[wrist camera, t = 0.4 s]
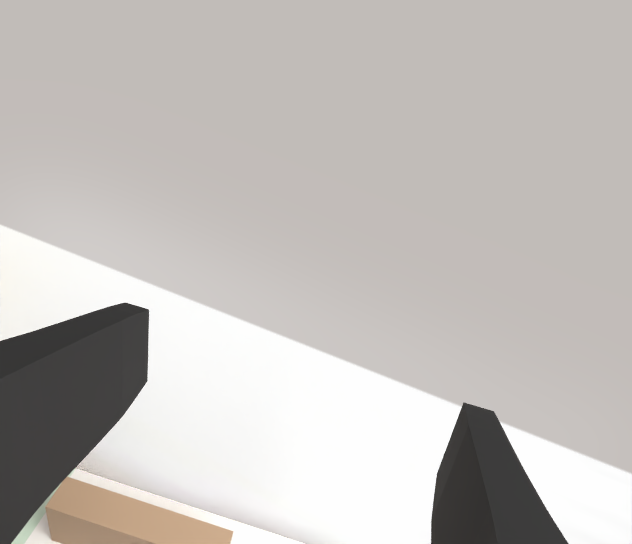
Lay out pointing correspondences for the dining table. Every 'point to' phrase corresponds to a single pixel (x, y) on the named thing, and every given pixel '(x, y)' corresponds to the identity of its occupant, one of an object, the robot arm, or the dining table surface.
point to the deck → (129, 518)
